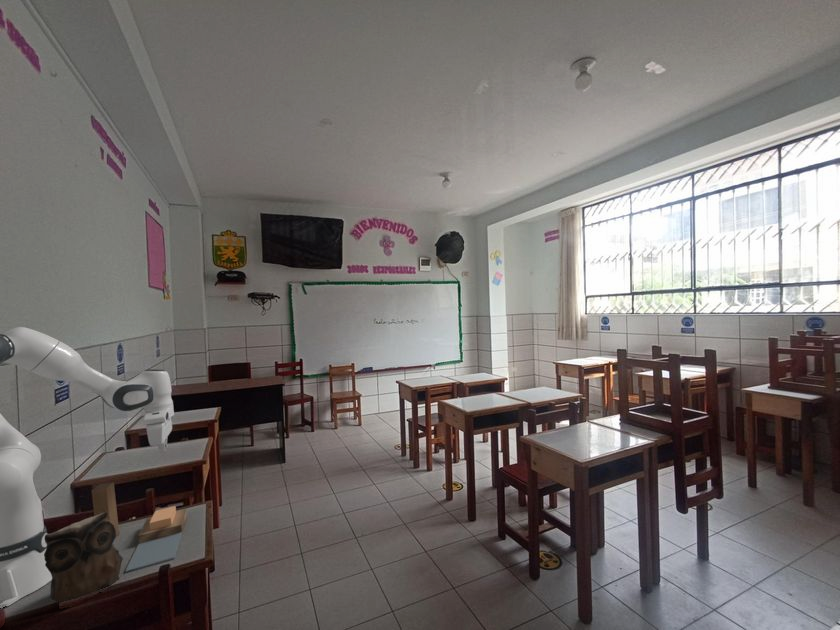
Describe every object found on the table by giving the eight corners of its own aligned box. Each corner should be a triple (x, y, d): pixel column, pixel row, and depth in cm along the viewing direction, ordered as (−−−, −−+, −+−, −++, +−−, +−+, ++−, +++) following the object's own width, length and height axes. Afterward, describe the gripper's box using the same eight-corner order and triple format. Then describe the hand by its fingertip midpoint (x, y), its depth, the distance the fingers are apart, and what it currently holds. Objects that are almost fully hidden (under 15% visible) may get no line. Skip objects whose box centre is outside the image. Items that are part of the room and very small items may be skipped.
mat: (125, 572, 113) (125, 571, 113) (138, 544, 126) (138, 543, 126) (174, 558, 117) (173, 557, 117) (182, 533, 131) (181, 531, 131)
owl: (127, 575, 112) (119, 505, 111) (90, 610, 99) (81, 532, 98) (81, 579, 111) (74, 510, 111) (39, 614, 99) (30, 536, 98)
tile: (150, 530, 129) (149, 523, 129) (156, 517, 137) (155, 510, 137) (171, 525, 131) (170, 517, 131) (176, 512, 140) (175, 505, 140)
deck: (138, 544, 126) (138, 535, 126) (147, 526, 138) (147, 518, 137) (182, 533, 131) (181, 524, 131) (187, 516, 142) (186, 508, 142)
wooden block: (81, 546, 128) (75, 492, 128) (90, 538, 133) (84, 486, 132) (112, 541, 130) (106, 487, 130) (119, 533, 134) (114, 481, 134)
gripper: (155, 408, 151) (159, 444, 152) (142, 421, 132) (146, 462, 133) (174, 405, 154) (178, 440, 154) (164, 417, 135) (168, 457, 135)
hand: (163, 450), depth 143 cm, fingers closed
